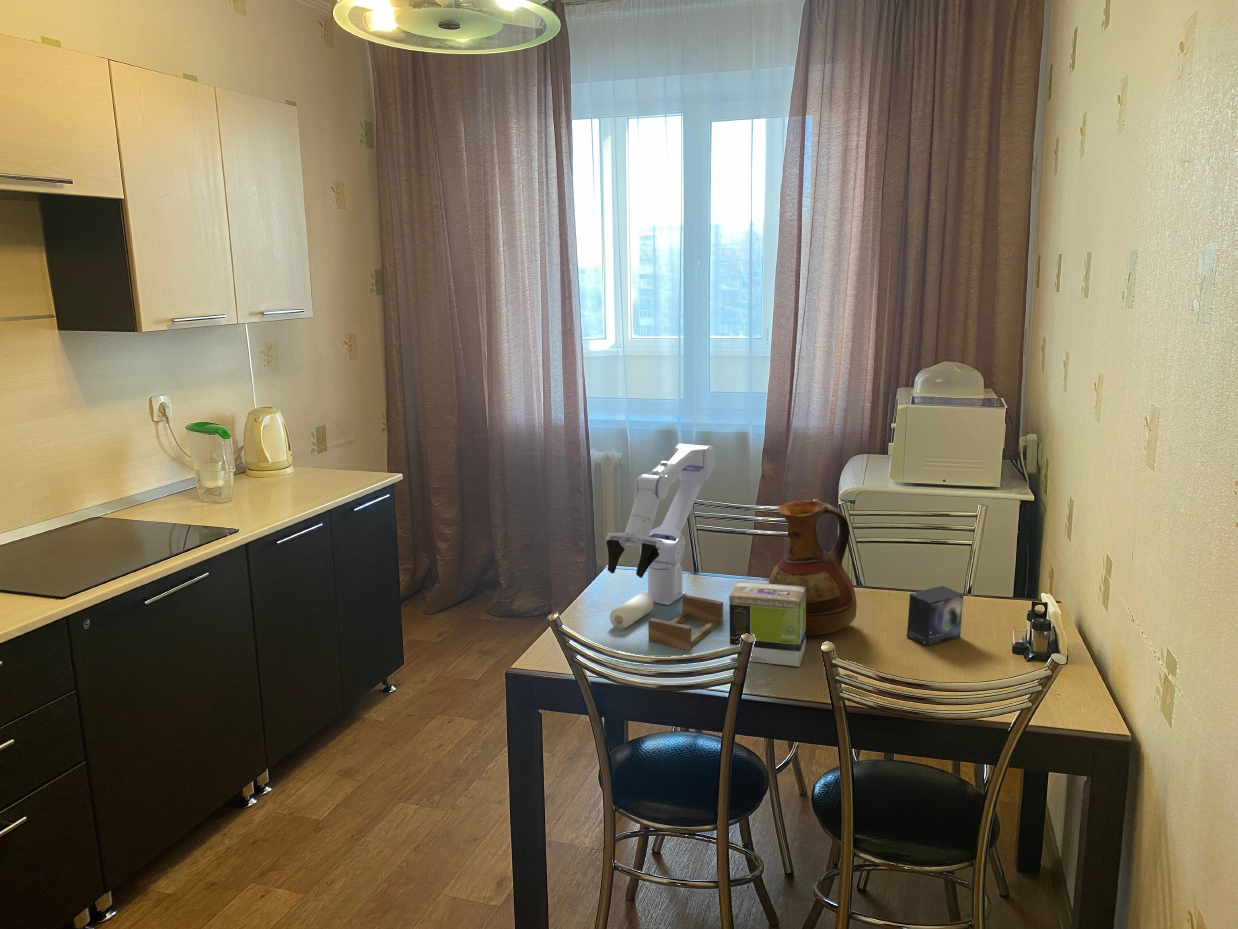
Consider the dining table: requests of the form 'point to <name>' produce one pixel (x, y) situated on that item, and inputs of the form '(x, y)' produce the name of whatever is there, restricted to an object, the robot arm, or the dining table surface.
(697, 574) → the dining table surface
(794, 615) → the tea box
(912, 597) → the small box
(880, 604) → the dining table surface
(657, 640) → the holder
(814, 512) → the ceramic pitcher
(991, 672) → the dining table surface
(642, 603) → the cylinder
